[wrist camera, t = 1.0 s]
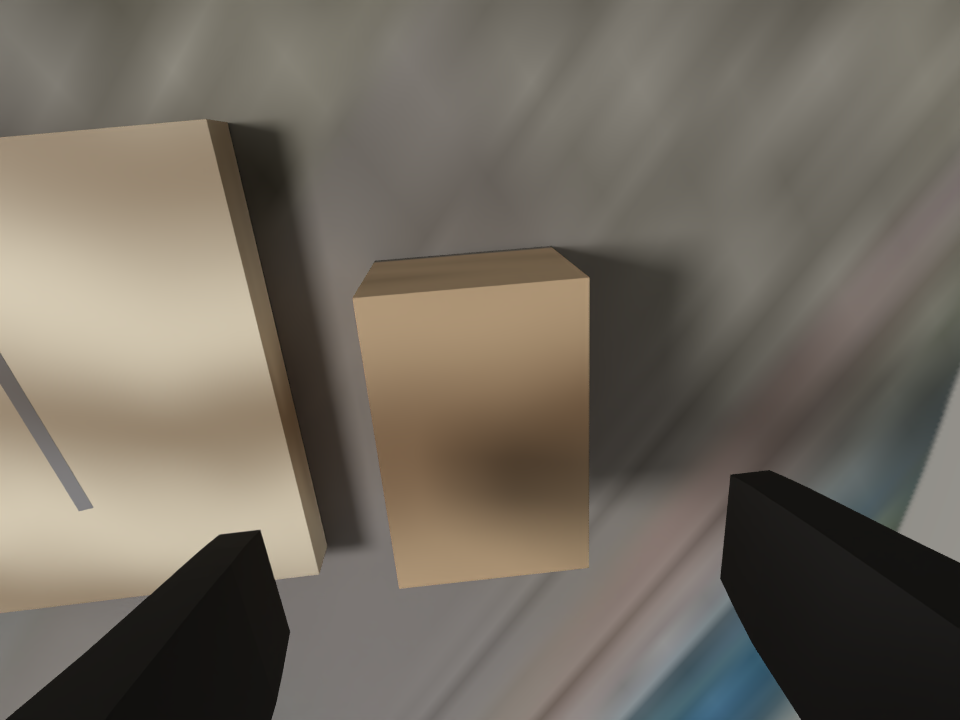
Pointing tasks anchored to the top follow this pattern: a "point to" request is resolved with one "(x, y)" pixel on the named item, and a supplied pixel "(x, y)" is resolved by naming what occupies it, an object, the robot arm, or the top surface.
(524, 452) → the block
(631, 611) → the top surface
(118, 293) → the board
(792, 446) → the top surface
